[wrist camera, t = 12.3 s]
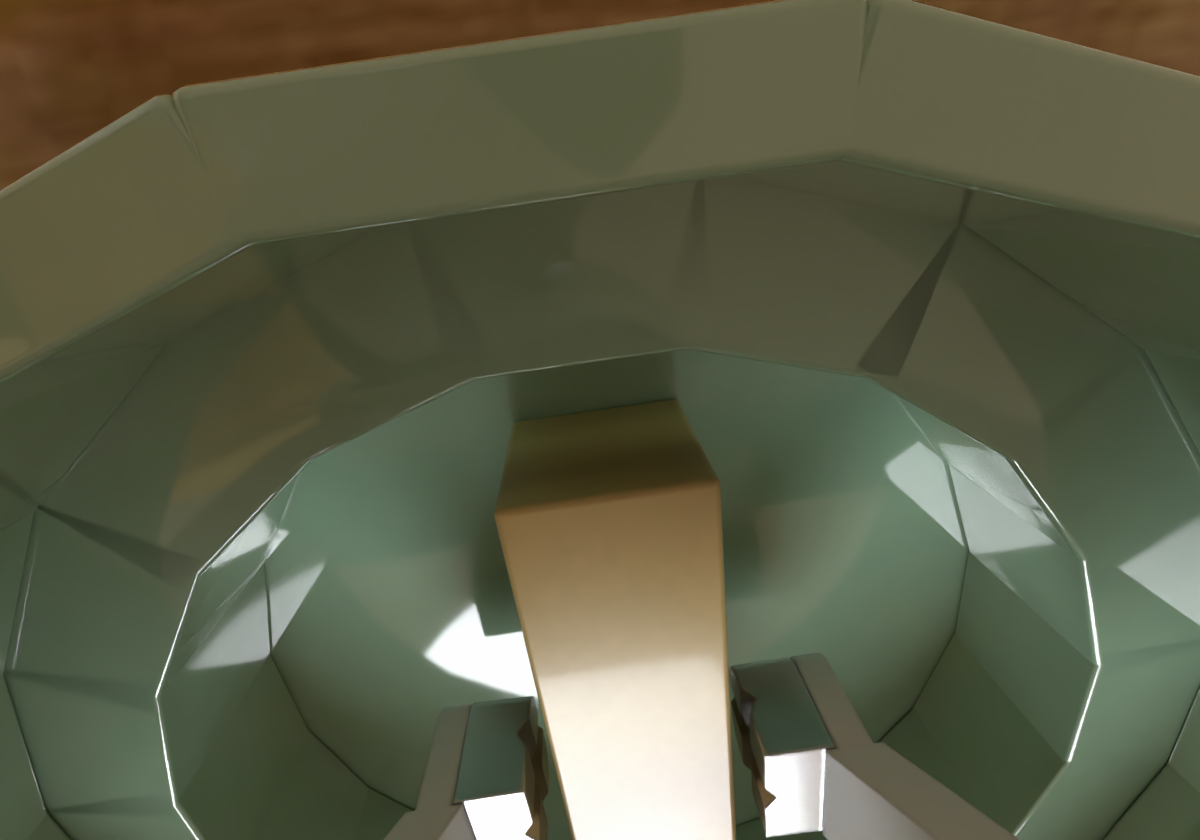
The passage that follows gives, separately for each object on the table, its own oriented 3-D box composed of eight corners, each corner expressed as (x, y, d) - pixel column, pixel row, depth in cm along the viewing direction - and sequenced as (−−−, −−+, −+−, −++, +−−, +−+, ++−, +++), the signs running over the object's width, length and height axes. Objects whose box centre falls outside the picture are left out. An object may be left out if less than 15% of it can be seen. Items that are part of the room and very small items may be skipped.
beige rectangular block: (511, 420, 9) (491, 512, 6) (678, 396, 9) (722, 480, 6) (595, 819, 13) (602, 969, 10) (708, 803, 13) (742, 949, 10)
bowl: (-72, 230, 8) (-1768, 360, 2) (1170, 50, 8) (2758, -289, 2) (335, 917, 14) (194, 1369, 9) (984, 820, 14) (1241, 1211, 9)
